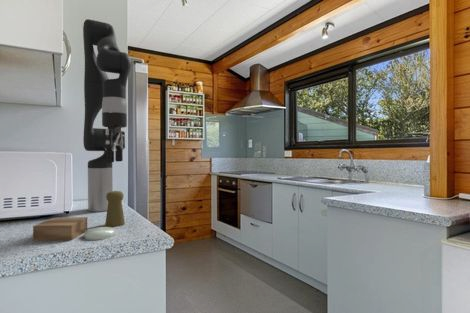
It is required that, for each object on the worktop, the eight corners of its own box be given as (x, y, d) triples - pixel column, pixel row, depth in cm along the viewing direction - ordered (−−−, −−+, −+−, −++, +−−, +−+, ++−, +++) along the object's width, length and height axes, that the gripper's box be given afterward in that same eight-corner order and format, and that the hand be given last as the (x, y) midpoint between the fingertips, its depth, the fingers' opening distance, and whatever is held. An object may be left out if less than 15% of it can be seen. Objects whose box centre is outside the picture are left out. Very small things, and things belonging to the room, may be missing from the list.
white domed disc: (91, 233, 89) (91, 227, 89) (118, 232, 90) (118, 226, 90) (79, 241, 81) (79, 234, 81) (109, 240, 82) (109, 234, 82)
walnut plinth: (53, 230, 90) (53, 217, 90) (87, 230, 91) (87, 217, 91) (33, 240, 80) (33, 226, 80) (71, 240, 81) (71, 225, 81)
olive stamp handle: (118, 227, 95) (117, 192, 95) (101, 226, 96) (100, 192, 96) (128, 222, 101) (128, 190, 101) (112, 221, 102) (112, 189, 102)
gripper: (110, 115, 105) (110, 161, 105) (94, 109, 90) (94, 162, 91) (132, 115, 105) (132, 161, 105) (119, 109, 91) (119, 162, 91)
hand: (114, 161), depth 98 cm, fingers open, 8 cm apart
